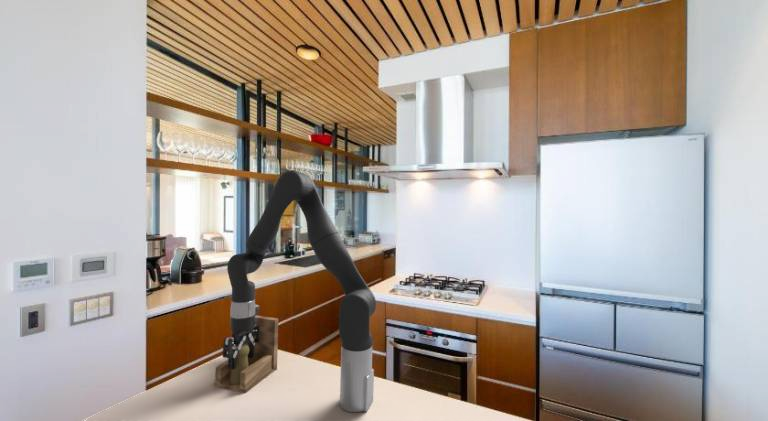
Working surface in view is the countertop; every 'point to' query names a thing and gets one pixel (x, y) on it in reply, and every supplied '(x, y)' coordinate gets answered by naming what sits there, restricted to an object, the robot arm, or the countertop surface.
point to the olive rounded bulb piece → (239, 364)
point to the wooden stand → (254, 359)
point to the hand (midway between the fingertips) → (241, 362)
